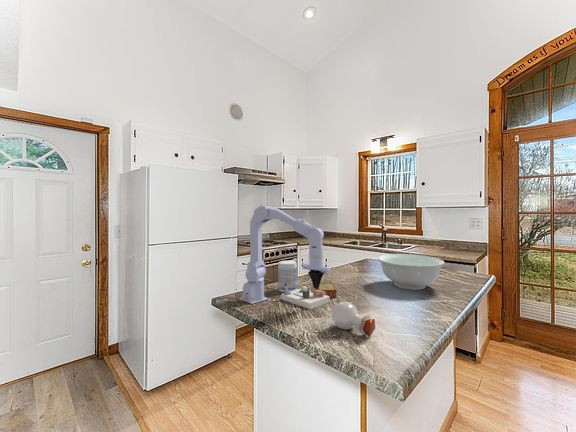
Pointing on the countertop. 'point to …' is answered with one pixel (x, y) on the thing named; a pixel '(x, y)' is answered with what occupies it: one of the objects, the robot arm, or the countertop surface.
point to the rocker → (318, 292)
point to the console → (305, 299)
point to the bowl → (411, 270)
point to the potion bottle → (352, 318)
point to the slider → (306, 293)
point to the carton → (327, 288)
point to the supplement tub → (287, 275)
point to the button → (302, 288)
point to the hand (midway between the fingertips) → (316, 287)
